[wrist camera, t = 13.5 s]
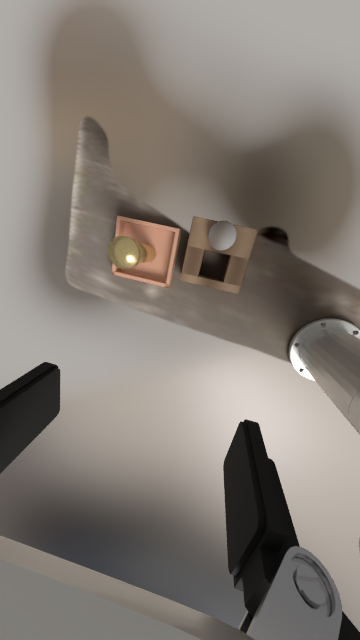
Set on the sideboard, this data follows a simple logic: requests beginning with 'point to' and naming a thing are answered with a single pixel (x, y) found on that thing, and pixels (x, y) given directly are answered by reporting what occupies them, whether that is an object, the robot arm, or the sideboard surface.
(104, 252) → the sideboard surface
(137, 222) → the tray
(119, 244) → the pin
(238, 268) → the block
